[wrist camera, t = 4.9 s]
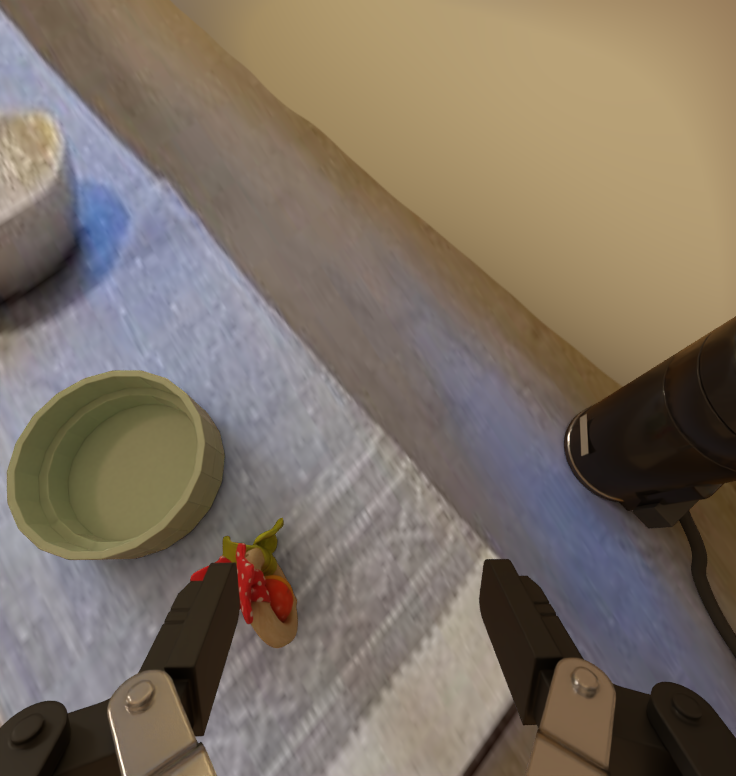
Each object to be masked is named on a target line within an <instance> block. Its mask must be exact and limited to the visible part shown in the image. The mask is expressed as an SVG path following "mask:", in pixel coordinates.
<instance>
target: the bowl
mask: <svg viewBox="0 0 736 776" xmlns="http://www.w3.org/2000/svg"><path fill="white" fill-rule="evenodd" d="M224 460H225V454H224V449H223V445H222V440H221V435H220V432H219V430H218V429H217V427H216V425H215V424H214V422H213V421H212V419H211V417H210V416H209V414H208V413H207V412H206V411H205V410H204V409H203V408H202V407H201V406H199V405H198V404H197V403H196V402H195V401H194V400H193V399H192V398H191V397H190V396H189V395H188V394H186V393H185V392H184V391H183V390H181V389H180V388H179V387H177V386H176V385H175V384H173V383H172V382H171V381H169V380H168V379H166V378H164V377H160V376H157V375H154V374H151V373H148V372H144V371H109V372H106V373H102V374H99V375H95V376H91V377H88V378H85V379H82V380H80V381H79V382H77V383H75V384H73V385H72V386H70V387H68V388H66V389H65V390H63V391H61V392H59V393H58V394H56V395H55V396H54V397H53V398H52V399H51V400H50V401H49V402H48V403H46V404H45V405H44V406H43V407H42V408H41V409H40V410H39V411H38V412H37V413H36V414H35V415H34V416H33V417H32V419H31V420H30V422H29V423H28V425H27V426H26V428H25V429H24V431H23V433H22V434H21V436H20V437H19V439H18V440H17V442H16V444H15V447H14V451H13V454H12V457H11V460H10V464H9V467H8V470H7V502H8V505H9V508H10V510H11V512H12V515H13V517H14V520H15V522H16V524H17V527H18V529H19V530H20V531H21V532H22V533H23V534H24V535H25V536H26V537H27V538H28V539H29V540H30V541H31V542H33V543H34V544H35V545H36V546H37V547H38V548H39V549H40V550H43V551H46V552H48V553H51V554H54V555H57V556H59V557H62V558H65V559H67V560H103V559H137V558H140V557H143V556H146V555H149V554H152V553H155V552H158V551H161V550H164V549H167V548H168V547H170V546H171V545H172V544H174V543H175V542H177V541H178V540H180V539H181V538H182V537H184V536H185V535H187V534H188V533H190V532H191V531H192V530H193V529H194V527H195V526H196V525H197V524H198V523H199V521H200V520H201V519H202V518H203V517H204V515H205V514H206V513H207V512H208V511H209V509H210V508H211V506H212V503H213V501H214V499H215V497H216V494H217V492H218V490H219V487H220V485H221V483H222V477H223V468H224Z"/></svg>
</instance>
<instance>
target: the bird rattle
mask: <svg viewBox="0 0 736 776" xmlns="http://www.w3.org/2000/svg"><path fill="white" fill-rule="evenodd" d="M283 525H284V521H283V518H280V519H278V521H277V522H276V524H275V525H274V527H273V528H272V529H271V530H269V531H266V532H264V533H262V534H260V535H259V536H258V537H257V538H256V539H255V541H254V543H253V545H245V543H235V542H232V541H231V540H230V537H229V536H225V537H223V555H222V556H221V557H220V558H219V560H218V561H217V562H215V563H232V562H235V563H236V565H237V574H238V586H239V599H240V609H241V611H242V613H243V616H244V619H245V621H246V623H247V624H251V625H252V627H253V629H254V630H255V632H256V633H257V634H258V636H259V637H260V638H261V639H262V640H263V641H264V642H265V643H266V644H267V645H269V646H271V647H273V648H281V647H283V646H285V645H287V644H289V643H290V642H292V640H293V639H294V638H295V636H296V633H297V628H298V617H297V609H296V605H297V599H296V597H295V596H294V594H293V590H292V587H291V585H290V584H289V582H288V581H287V579H286V577H285V575H284V573H283V572H282V570H281V568H280V567H279V565H278V563H277V562H276V559H275V558H274V557H273V555H272V553H273V552H274V551H275V549H276V547H277V538H276V535H275V534H276V533H277V532H278V531H279V530H280V529H281V528H282V527H283ZM208 567H209V566H207V567H204V568H203V569H200V570H198V571H197V572H195V573H194V574H193V575H192V576H191V579H190V580H191V581H203V578H204V576H205V574H206V572H207V569H208ZM240 609H239V610H240Z"/></svg>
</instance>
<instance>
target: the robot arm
mask: <svg viewBox="0 0 736 776" xmlns="http://www.w3.org/2000/svg"><path fill="white" fill-rule="evenodd" d="M564 450H565V455H566V459H567V462H568V464H569V466H570V468H571V470H572V472H573V473H574V475H575V476H576V478H577V479H578V480H579V481H580V482H581V483H582V484H583V485H584V486H585V487H586V488H587V489H588V490H590V491H591V492H593V493H594V494H596V495H598V496H600V497H602V498H604V499H607V500H610V501H614V502H619V503H620V504H621V505H622V506H623V507H624V508H625V509H626V510H628V511H630V510H633V513H634V514H635V515H636V516H637V517H638V518H639V519H640V520H641V521H642V522H643V523H644V524H645V526H646V527H647V528H661V527H672V526H673V525H674V524H675V523H676V522H677V521H678V520H679V521H680V523H681V525H682V527H683V529H684V532H685V534H686V536H687V538H688V541H689V544H690V547H691V551H692V565H691V571H692V576H693V579H694V582H695V585H696V587H697V590H698V592H699V595H700V597H701V599H702V601H703V603H704V605H705V608H706V609H707V611H708V613H709V615H710V617H711V619H712V621H713V622H714V624H715V626H716V628H717V629H718V631H719V633H720V634H721V636H722V637H723V639H724V641H725V642H726V644H727V645H728V647H729V648H730V650H731V651H732V653H733V654H734V656H735V657H736V635H735V633H734V632H733V630H732V629H731V627H730V625H729V624H728V622H727V620H726V618H725V617H724V615H723V613H722V611H721V609H720V607H719V605H718V603H717V601H716V599H715V597H714V595H713V592H712V590H711V588H710V585H709V582H708V580H707V576H706V567H707V553H706V549H705V546H704V543H703V540H702V538H701V535H700V533H699V531H698V529H697V527H696V525H695V523H694V521H693V519H692V517H691V515H690V512H689V509H690V508H691V507H693V506H694V505H695V504H696V503H697V502H698V501H699V500H702V499H706V498H709V497H710V496H712V495H713V494H714V493H715V492H716V491H717V490H718V489H719V488H720V487H721V486H722V485H723V484H724V483H728V482H733V481H736V316H735V317H734V318H732V319H731V320H729V321H727V322H726V323H724V324H723V325H721V326H720V327H718V328H716V329H715V330H713V331H712V332H710V333H708V334H707V335H705V336H703V337H702V338H700V339H699V340H697V341H695V342H694V343H692V344H691V345H689V346H687V347H686V348H684V349H683V350H681V351H679V352H678V353H676V354H675V355H673V356H671V357H670V358H668V359H667V360H665V361H664V362H662V363H660V364H659V365H657V366H656V367H654V368H652V369H651V370H649V371H648V372H646V373H644V374H643V375H641V376H640V377H638V378H636V379H635V380H633V381H632V382H630V383H628V384H627V385H625V386H624V387H622V388H620V389H619V390H617V391H616V392H614V393H612V394H611V395H609V396H608V397H606V398H604V399H603V400H601V401H600V402H598V403H596V404H594V405H593V406H591V407H589V408H587V409H585V410H583V411H582V412H580V413H579V414H578V415H576V416H575V417H574V418H573V420H572V421H571V422H570V424H569V426H568V428H567V430H566V433H565V439H564ZM479 604H480V612H481V616H482V619H483V622H484V625H485V627H486V630H487V632H488V635H489V638H490V640H491V643H492V645H493V648H494V651H495V653H496V656H497V658H498V661H499V664H500V666H501V669H502V672H503V674H504V677H505V679H506V682H507V685H508V687H509V690H510V692H511V695H512V698H513V700H514V703H515V705H516V708H517V711H518V713H519V716H520V719H521V721H522V724H523V725H537V726H538V728H539V729H538V730H537V733H536V737H535V740H534V744H533V748H532V751H531V755H530V759H529V762H528V766H527V770H526V773H525V776H736V738H735V736H734V735H733V734H732V732H731V731H730V730H729V729H728V727H727V726H726V725H725V723H724V722H723V721H722V719H721V718H720V717H719V715H718V714H717V713H716V712H715V710H714V709H713V708H712V707H711V706H710V705H709V704H708V703H707V702H706V701H705V700H704V699H703V698H702V697H701V696H699V695H698V694H696V693H695V692H693V691H692V690H690V689H688V688H686V687H684V686H682V685H679V684H676V683H672V682H660V683H657V684H656V685H655V686H654V687H653V688H652V691H651V695H649V694H645V693H642V692H638V691H634V690H631V689H627V688H623V687H620V686H617V685H615V684H613V683H612V682H611V680H610V679H609V678H608V677H607V675H606V674H605V673H604V672H603V671H602V670H600V669H599V668H598V667H597V666H595V665H594V664H592V663H590V662H588V661H586V660H584V659H583V658H582V656H581V654H580V653H579V651H578V649H577V648H576V646H575V644H574V643H573V641H572V639H571V638H570V636H569V634H568V633H567V631H566V629H565V628H564V626H563V624H562V623H561V621H560V619H559V617H558V616H556V612H555V611H554V609H553V607H552V606H551V604H549V601H548V599H547V597H546V596H545V594H544V592H543V591H542V589H541V588H540V587H539V586H538V585H537V584H536V583H535V582H534V581H533V580H531V579H530V578H529V577H528V576H519V575H518V573H517V572H516V570H515V568H514V566H513V564H512V563H511V561H510V560H509V559H486V560H485V561H484V565H483V572H482V580H481V588H480V597H479ZM239 609H240V599H239V586H238V574H237V565H236V563H235V562H232V563H211V564H210V565H209V567H208V569H207V572H206V574H205V576H204V578H203V581H191V582H190V583H189V584H188V585H187V586H186V587H185V588H184V589H183V590H182V591H181V592H180V593H178V595H177V597H176V599H175V601H174V603H173V605H172V607H171V611H170V612H169V613H168V615H167V617H166V619H165V623H164V624H163V625H162V627H161V629H160V631H159V633H158V635H157V637H156V639H155V641H154V643H153V645H152V647H151V649H150V651H149V653H148V655H147V657H146V659H145V661H144V663H143V665H142V667H141V669H140V671H139V672H138V674H136V675H134V676H132V677H131V678H129V679H128V680H126V681H125V682H124V683H123V684H122V685H121V686H119V688H118V689H117V690H116V691H115V692H114V694H113V695H112V697H111V698H110V699H108V700H106V701H103V702H101V703H98V704H95V705H92V706H89V707H86V708H83V709H80V710H77V711H74V712H71V713H67V710H66V708H65V706H64V705H63V704H62V703H60V702H57V701H44V702H40V703H36V704H34V705H31V706H29V707H27V708H25V709H23V710H22V711H20V712H19V713H17V714H16V715H14V716H13V717H12V718H10V719H9V720H8V721H7V722H6V723H5V724H4V725H3V726H2V727H1V728H0V776H217V775H216V772H215V770H214V768H213V765H212V763H211V760H210V758H209V756H208V753H207V751H206V749H205V747H204V745H203V744H202V742H200V743H198V742H197V740H196V738H195V736H204V733H205V730H206V726H207V723H208V720H209V716H210V713H211V710H212V706H213V703H214V699H215V696H216V693H217V689H218V686H219V683H220V679H221V676H222V673H223V669H224V666H225V663H226V659H227V656H228V653H229V649H230V646H231V643H232V639H233V636H234V632H235V629H236V626H237V622H238V617H239Z"/></svg>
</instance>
